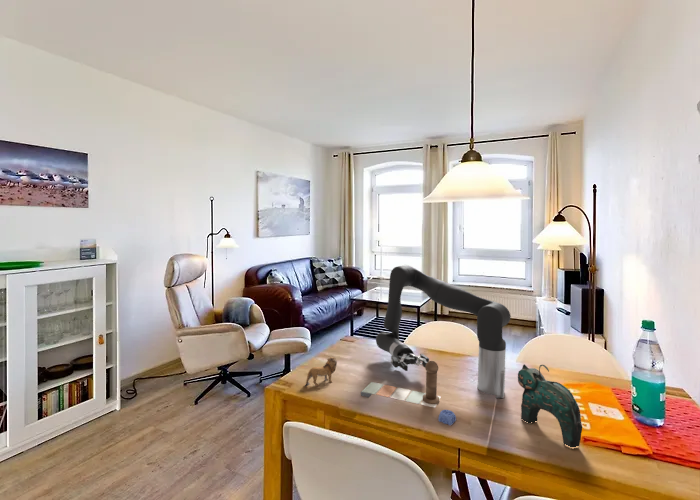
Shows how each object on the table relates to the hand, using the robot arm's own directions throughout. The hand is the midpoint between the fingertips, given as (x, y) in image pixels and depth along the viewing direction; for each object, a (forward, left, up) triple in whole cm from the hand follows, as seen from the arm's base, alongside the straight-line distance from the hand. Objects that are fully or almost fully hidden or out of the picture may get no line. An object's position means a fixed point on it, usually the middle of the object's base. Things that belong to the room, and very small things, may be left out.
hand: (417, 367), depth 138 cm
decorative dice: (-15, +20, -9) cm, 26 cm away
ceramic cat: (-43, +10, -9) cm, 45 cm away
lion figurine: (+35, +10, -9) cm, 38 cm away
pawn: (-7, +9, -7) cm, 13 cm away
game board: (+4, +9, -9) cm, 13 cm away
